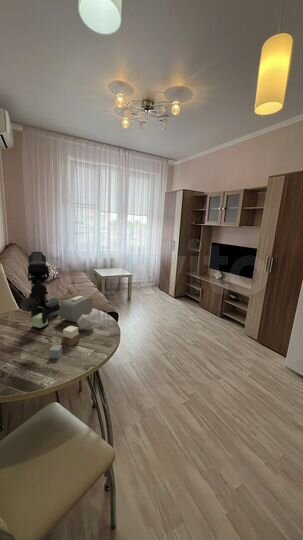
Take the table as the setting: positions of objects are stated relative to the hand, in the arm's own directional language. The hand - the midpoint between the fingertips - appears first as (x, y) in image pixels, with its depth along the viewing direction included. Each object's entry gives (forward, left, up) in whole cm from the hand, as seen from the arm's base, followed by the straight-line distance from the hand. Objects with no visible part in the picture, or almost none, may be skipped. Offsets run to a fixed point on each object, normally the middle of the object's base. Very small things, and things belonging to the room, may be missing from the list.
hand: (40, 322), depth 103 cm
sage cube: (0, 0, -1) cm, 1 cm away
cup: (-23, +31, -13) cm, 41 cm away
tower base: (+9, +9, -13) cm, 18 cm away
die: (+7, +24, -13) cm, 28 cm away
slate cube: (+11, -3, -13) cm, 17 cm away
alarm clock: (-7, +34, -13) cm, 37 cm away
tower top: (+9, +9, -9) cm, 16 cm away
